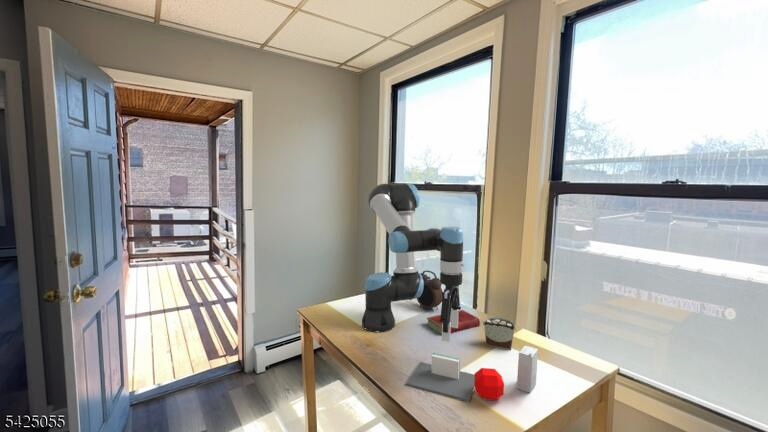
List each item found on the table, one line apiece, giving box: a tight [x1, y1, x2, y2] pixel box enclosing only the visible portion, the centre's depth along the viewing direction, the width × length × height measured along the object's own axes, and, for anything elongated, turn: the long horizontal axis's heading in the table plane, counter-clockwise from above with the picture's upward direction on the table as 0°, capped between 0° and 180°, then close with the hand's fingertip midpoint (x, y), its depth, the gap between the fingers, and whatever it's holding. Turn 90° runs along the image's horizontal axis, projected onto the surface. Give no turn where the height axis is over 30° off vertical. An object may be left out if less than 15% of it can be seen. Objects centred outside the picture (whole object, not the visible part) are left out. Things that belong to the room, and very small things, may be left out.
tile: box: [431, 352, 461, 379], centre depth 110 cm, size 9×2×6 cm, turn 65°
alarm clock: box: [416, 270, 444, 313], centre depth 169 cm, size 14×7×20 cm, turn 41°
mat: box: [405, 361, 475, 403], centre depth 108 cm, size 20×14×1 cm
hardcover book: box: [426, 309, 481, 335], centre depth 150 cm, size 12×21×4 cm, turn 117°
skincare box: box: [516, 345, 539, 394], centre depth 104 cm, size 6×4×12 cm
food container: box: [482, 316, 517, 351], centre depth 132 cm, size 12×6×10 cm, turn 65°
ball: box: [474, 367, 505, 401], centre depth 100 cm, size 8×8×8 cm
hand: (450, 333), depth 116 cm, fingers open, 11 cm apart
